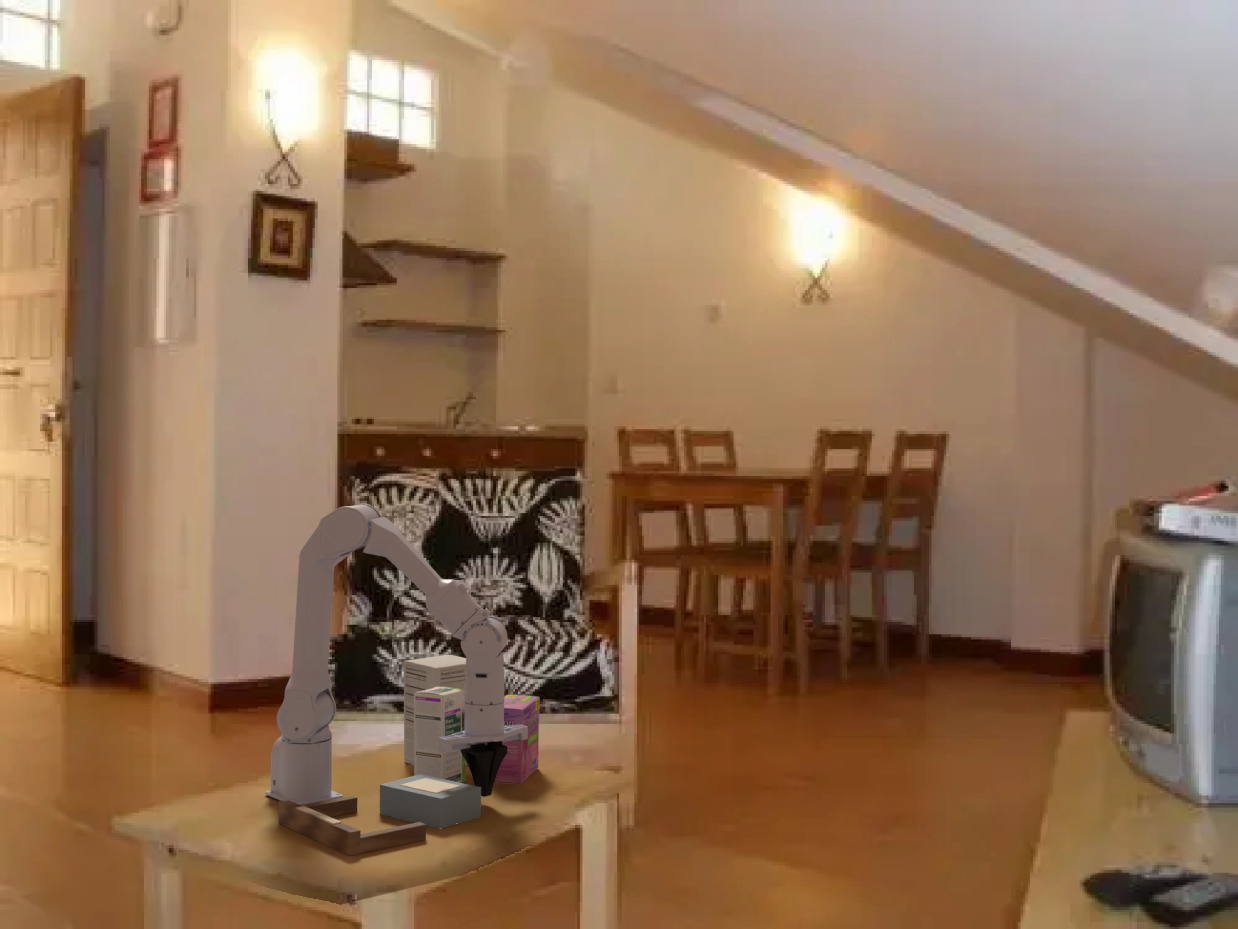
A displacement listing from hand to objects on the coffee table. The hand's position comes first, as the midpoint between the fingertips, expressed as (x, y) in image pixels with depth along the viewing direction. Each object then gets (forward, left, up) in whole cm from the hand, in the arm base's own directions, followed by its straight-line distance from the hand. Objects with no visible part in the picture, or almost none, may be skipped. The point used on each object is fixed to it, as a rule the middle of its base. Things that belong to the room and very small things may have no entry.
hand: (483, 794), depth 207 cm
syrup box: (-14, +2, -2) cm, 14 cm away
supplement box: (-25, +10, -2) cm, 27 cm away
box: (-11, +14, -2) cm, 18 cm away
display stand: (0, -22, -1) cm, 22 cm away
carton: (0, -9, -2) cm, 9 cm away
